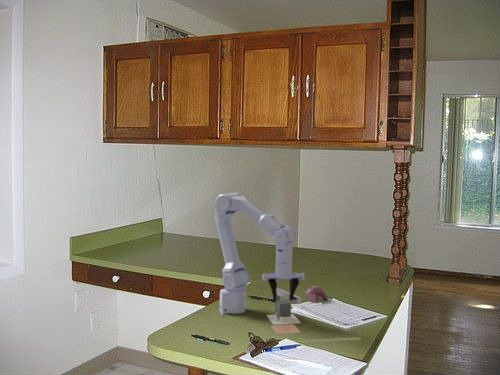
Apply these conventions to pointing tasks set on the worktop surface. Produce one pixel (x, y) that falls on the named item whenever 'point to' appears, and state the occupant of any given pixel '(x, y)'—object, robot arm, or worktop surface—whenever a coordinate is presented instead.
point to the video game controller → (315, 294)
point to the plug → (283, 309)
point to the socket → (283, 320)
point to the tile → (285, 329)
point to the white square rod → (287, 295)
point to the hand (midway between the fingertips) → (282, 300)
